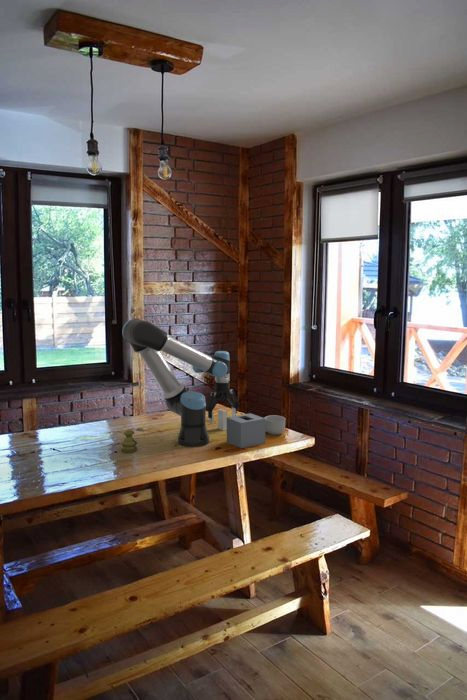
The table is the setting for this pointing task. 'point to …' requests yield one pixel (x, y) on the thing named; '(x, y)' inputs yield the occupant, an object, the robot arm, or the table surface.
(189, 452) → the table surface
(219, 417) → the white rectangular bar
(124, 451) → the olive chess piece
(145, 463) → the table surface
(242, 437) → the box
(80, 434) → the table surface
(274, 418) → the teacup
